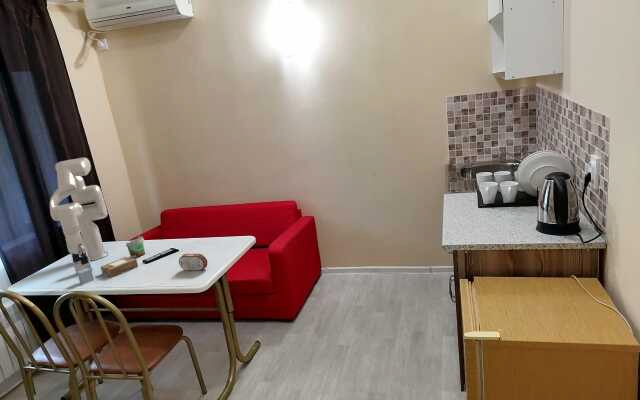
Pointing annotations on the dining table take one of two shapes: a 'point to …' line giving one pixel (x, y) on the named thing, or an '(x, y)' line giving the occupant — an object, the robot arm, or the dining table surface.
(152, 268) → the dining table surface
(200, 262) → the tin
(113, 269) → the plinth
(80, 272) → the slate block
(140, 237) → the food container
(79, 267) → the medicine box
